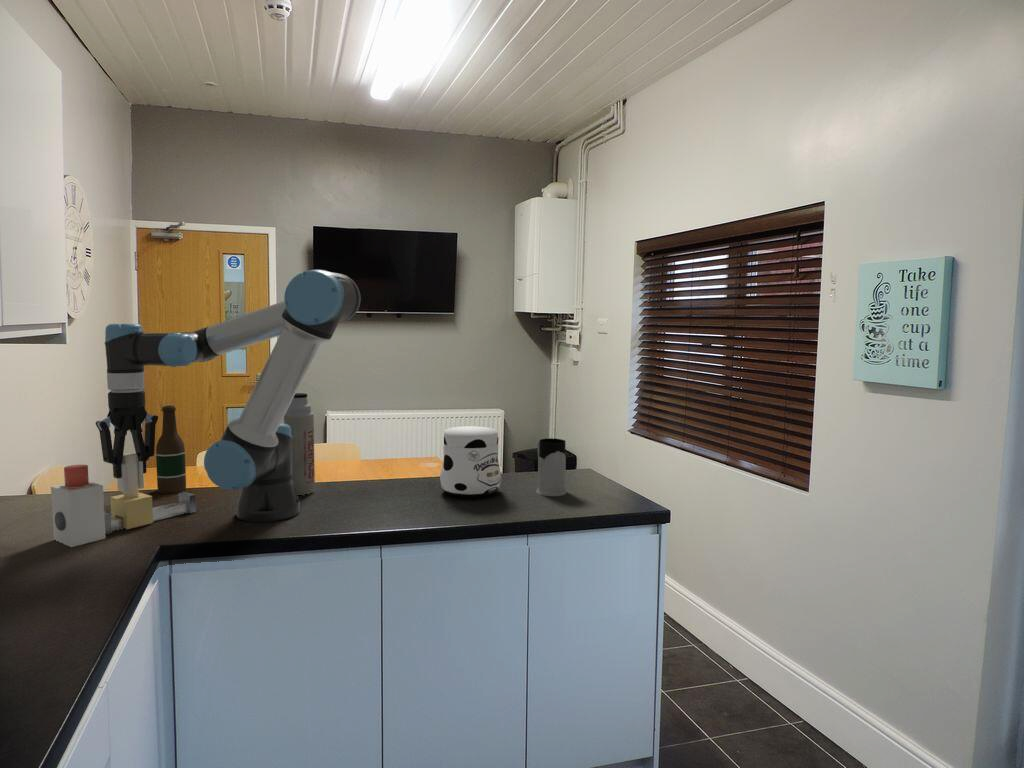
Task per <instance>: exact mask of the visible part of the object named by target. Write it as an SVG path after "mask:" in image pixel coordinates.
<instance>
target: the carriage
mask: <svg viewBox="0 0 1024 768" xmlns="http://www.w3.org/2000/svg"><path fill="white" fill-rule="evenodd" d="M122 463H123V464H126V478H127V492H122V494H119V495H113V496H110V512H111V513H110V514H111V517H115V516H120V517H123V528H125V529H124V530H130V529H134V528H139V527H143V526H147V525H149V524H153V523H154V521H153V508H154V506H153V495H150V494H146V493H143V492H140V491H139V490H140V489H139V483H138V459H137V454H136V453H125V454H124V453H123V461H122Z"/></svg>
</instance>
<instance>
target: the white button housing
mask: <svg viewBox="0 0 1024 768" xmlns="http://www.w3.org/2000/svg"><path fill="white" fill-rule="evenodd" d="M50 495H51V496H50V497H51V498H50V499H51V513H52V514H51V515H52V516H51V517H52V530H53V531H52V532H53V540H54V541H55V540H56V542H58V541H59V543H60V544H62V543H63V545H65V546H68V547H70V548H73V547H77V546H82V545H86V544H90V543H93V542H97V541H101V540H105V539H106V537H107V536H106V535H105V515H104V512H105V500H104V497H105V496H104V485H102V484H99V483H95V482H92V481H89V484H88V485H85V486H80V487H65V483H63V484H58V485H57V484H56V485H52V486H50Z"/></svg>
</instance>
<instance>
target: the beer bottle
mask: <svg viewBox="0 0 1024 768" xmlns="http://www.w3.org/2000/svg"><path fill="white" fill-rule="evenodd" d="M161 411H162V431H161V436H159V438H158V440H157V443H156V444H155V445H156V446H155V454H156V455H155V458H156V461H155V462H156V483H157V492H158V494H164V495H165V494H166V495H168V494H178V493H180V492H186V489H187V475H186V474H187V473H186V472H187V470H186V469H187V468H186V451H185V450H186V448H185V444H184V440H183V438H182V437H181V436H180V435H179V434H178V429H177V420H176V419H177V418H176V411H177V408H176V406H175V405H163V406H162V407H161Z"/></svg>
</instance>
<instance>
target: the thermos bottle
mask: <svg viewBox="0 0 1024 768" xmlns="http://www.w3.org/2000/svg"><path fill="white" fill-rule="evenodd" d="M314 417H315V414H314V412H312V406H311V404H310V403H308V393H303V392H300V393H299V392H296V393H295V395H294V397H293V399H292V401H291V403H290V405H289V407H288V409H287V411H286V413H285V415H284V417H283V424H288V425H289V426H290V428H291V435H292V481H293V485H294V487H295V490H296V493H297V495H302V496H306V495H305V494H308V495H311V494H310V493H312V494H314V493H315V492H316V485H315V484H316V483H315V482H316V480H315V474H316V473H315V470H316V469H315V468H316V467H315V422H314V421H315V419H314ZM313 492H314V493H313Z"/></svg>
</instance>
